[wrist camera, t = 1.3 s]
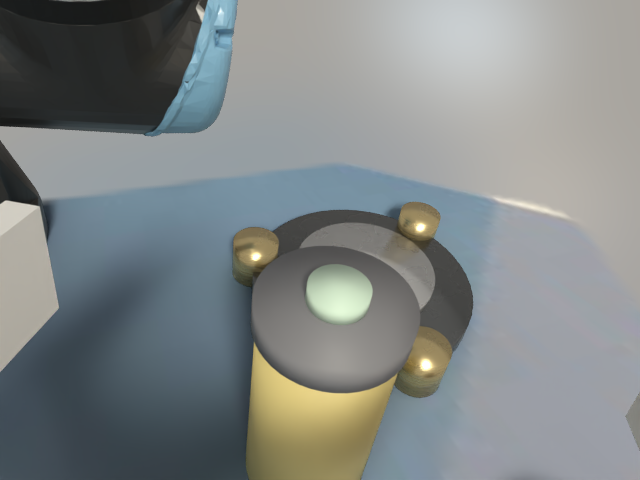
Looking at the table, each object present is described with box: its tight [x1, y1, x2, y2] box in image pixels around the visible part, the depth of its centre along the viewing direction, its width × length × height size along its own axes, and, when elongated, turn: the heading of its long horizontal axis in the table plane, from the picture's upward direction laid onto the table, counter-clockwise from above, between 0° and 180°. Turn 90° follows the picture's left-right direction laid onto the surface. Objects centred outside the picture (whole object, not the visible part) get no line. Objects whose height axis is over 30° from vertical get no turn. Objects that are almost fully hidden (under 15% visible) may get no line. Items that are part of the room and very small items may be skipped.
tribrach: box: [233, 202, 473, 398], centre depth 40 cm, size 17×18×3 cm
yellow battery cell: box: [246, 246, 421, 480], centre depth 25 cm, size 7×7×13 cm
